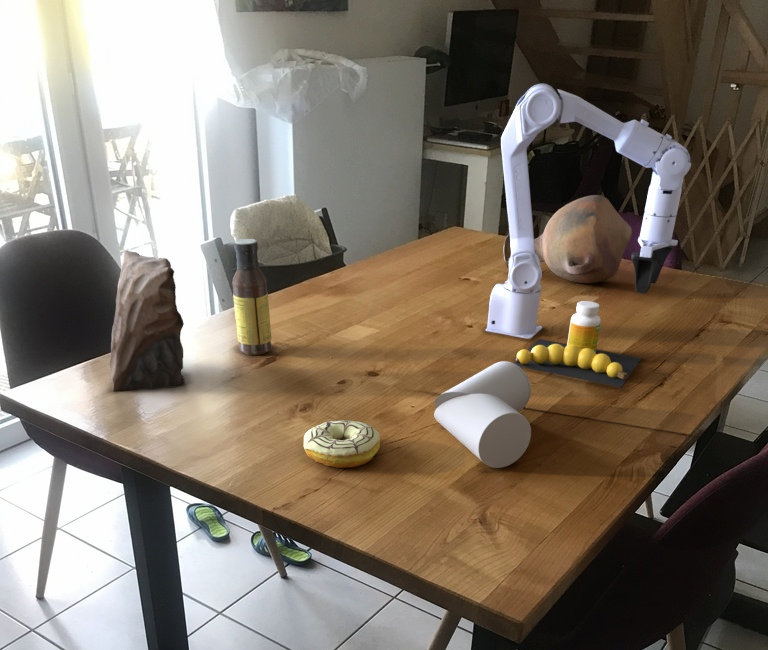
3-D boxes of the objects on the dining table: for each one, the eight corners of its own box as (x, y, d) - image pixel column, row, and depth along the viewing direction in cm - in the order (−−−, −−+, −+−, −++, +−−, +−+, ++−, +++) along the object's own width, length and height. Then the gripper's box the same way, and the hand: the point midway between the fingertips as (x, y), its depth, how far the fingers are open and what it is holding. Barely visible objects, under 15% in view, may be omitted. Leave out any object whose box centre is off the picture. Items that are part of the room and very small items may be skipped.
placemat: (511, 366, 146) (511, 364, 146) (538, 340, 159) (539, 338, 158) (620, 389, 139) (621, 387, 139) (641, 360, 151) (641, 358, 151)
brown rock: (130, 362, 144) (113, 248, 133) (200, 364, 144) (189, 250, 133) (108, 390, 133) (88, 268, 122) (185, 393, 133) (171, 271, 122)
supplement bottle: (595, 361, 149) (604, 309, 144) (565, 358, 150) (573, 307, 144) (594, 351, 153) (603, 300, 148) (565, 348, 154) (573, 298, 149)
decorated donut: (321, 433, 122) (321, 410, 120) (388, 445, 119) (389, 422, 117) (293, 463, 113) (292, 439, 111) (364, 477, 110) (365, 452, 108)
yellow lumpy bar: (513, 366, 146) (515, 346, 143) (520, 354, 151) (522, 335, 149) (625, 383, 140) (629, 362, 138) (628, 370, 145) (632, 350, 143)
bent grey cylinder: (402, 409, 126) (463, 467, 111) (419, 345, 122) (484, 395, 106) (495, 416, 134) (564, 470, 119) (514, 355, 130) (588, 403, 114)
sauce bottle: (267, 342, 154) (262, 235, 143) (275, 353, 149) (270, 243, 138) (234, 346, 152) (226, 237, 141) (241, 357, 147) (233, 246, 137)
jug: (638, 282, 195) (523, 282, 211) (645, 195, 190) (526, 202, 205) (613, 283, 179) (490, 284, 195) (619, 189, 174) (492, 197, 189)
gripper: (675, 224, 141) (659, 300, 148) (689, 209, 152) (674, 281, 159) (634, 219, 144) (621, 294, 151) (651, 205, 155) (638, 276, 162)
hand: (645, 287), depth 155 cm, fingers open, 7 cm apart
